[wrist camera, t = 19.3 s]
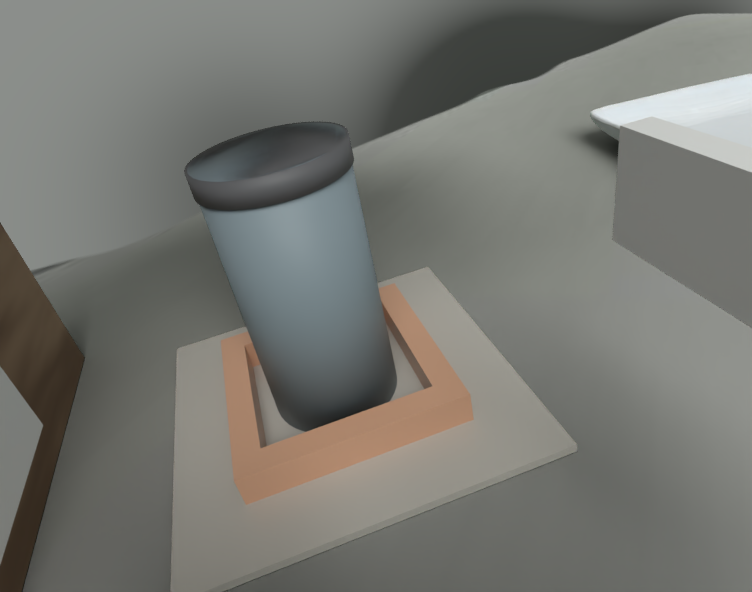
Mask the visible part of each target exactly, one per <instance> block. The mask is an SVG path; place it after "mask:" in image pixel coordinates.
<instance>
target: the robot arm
mask: <svg viewBox="0 0 752 592" xmlns="http://www.w3.org/2000/svg"><path fill="white" fill-rule="evenodd" d="M612 240H613V241H615V242H616V243H618V244H620V245H621V246H623V247H624V248H626V249H628V250H629V251H631V252H632V253H634V254H636V255H637V256H639V257H640V258H642V259H643V260H645V261H647V262H648V263H650V264H651V265H653V266H655V267H656V268H658V269H659V270H661V271H662V272H664V273H666V274H667V275H669V276H670V277H672V278H674V279H675V280H677V281H678V282H680V283H681V284H683V285H685V286H686V287H688V288H689V289H691V290H693V291H694V292H696V293H697V294H699V295H700V296H702V297H704V298H705V299H707V300H708V301H710V302H712V303H713V304H715V305H716V306H718V307H719V308H721V309H723V310H724V311H726V312H727V313H729V314H731V315H732V316H734V317H735V318H737V319H739V320H740V321H742V322H743V323H745V324H746V325H748V326H750V327H751V328H752V148H751V147H748V146H745V145H741V144H738V143H735V142H732V141H729V140H726V139H722V138H719V137H716V136H713V135H710V134H706V133H703V132H700V131H697V130H694V129H691V128H687V127H684V126H681V125H678V124H675V123H671V122H668V121H665V120H662V119H659V118H655V117H652V116H651V117H647V118H644V119H640V120H637V121H634V122H630V123H627V124H623V125H620V134H619V149H618V163H617V178H616V192H615V207H614V221H613V236H612ZM42 428H43V424H42V423H41V421H40V420H39V419H38V417H37V416H36V414H35V413H34V412H33V410H32V409H31V408H30V406H29V405H28V404H27V402H26V401H25V399H24V398H23V397H22V395H21V394H20V393H19V391H18V390H17V388H16V387H15V386H14V384H13V383H12V382H11V380H10V379H9V378H8V376H7V375H6V373H5V372H4V371H3V369H2V368H1V367H0V564H1V561H2V558H3V554H4V551H5V548H6V545H7V541H8V538H9V535H10V532H11V528H12V525H13V522H14V519H15V515H16V512H17V509H18V506H19V502H20V499H21V496H22V493H23V489H24V486H25V483H26V480H27V476H28V473H29V470H30V467H31V463H32V460H33V457H34V454H35V450H36V447H37V444H38V441H39V437H40V434H41V431H42Z"/></svg>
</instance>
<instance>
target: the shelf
mask: <svg viewBox="0 0 752 592" xmlns="http://www.w3.org/2000/svg"><path fill="white" fill-rule="evenodd" d="M83 362H84V356H83V355H82V353H81V351H80V350H79V348H78V347H77V345H76V343H75V342H74V340H73V339H72V337H71V335H70V334H69V332H68V331H67V329H66V327H65V326H64V324H63V323H62V321H61V319H60V318H59V316H58V315H57V313H56V311H55V310H54V308H53V307H52V305H51V303H50V302H49V300H48V299H47V297H46V295H45V294H44V292H43V291H42V289H41V287H40V286H39V284H38V282H37V281H36V279H35V278H34V276H33V274H32V273H31V271H30V270H29V268H28V266H27V265H26V263H25V262H24V260H23V258H22V257H21V255H20V254H19V252H18V250H17V249H16V247H15V246H14V244H13V242H12V241H11V239H10V238H9V236H8V234H7V233H6V231H5V230H4V228H3V226H2V225H1V223H0V367H1V368H2V369H3V371H4V372H5V373H6V375H7V376H8V378H9V379H10V380H11V382H12V383H13V384H14V386H15V387H16V388H17V390H18V391H19V393H20V394H21V395H22V397H23V398H24V399H25V401H26V402H27V404H28V405H29V406H30V408H31V409H32V410H33V412H34V413H35V414H36V416H37V417H38V419H39V420H40V421H41V423H42V424H43V428H42V431H41V434H40V437H39V441H38V444H37V447H36V450H35V454H34V457H33V460H32V463H31V467H30V470H29V473H28V476H27V480H26V483H25V486H24V489H23V493H22V496H21V499H20V502H19V506H18V509H17V512H16V515H15V519H14V522H13V525H12V528H11V532H10V535H9V538H8V541H7V545H6V548H5V551H4V554H3V558H2V561H1V564H0V592H22V589H23V585H24V581H25V577H26V574H27V570H28V566H29V563H30V559H31V555H32V551H33V548H34V544H35V540H36V537H37V533H38V529H39V525H40V522H41V518H42V514H43V511H44V507H45V503H46V499H47V496H48V492H49V488H50V484H51V481H52V477H53V473H54V470H55V466H56V462H57V458H58V455H59V451H60V447H61V444H62V440H63V436H64V432H65V429H66V425H67V421H68V418H69V414H70V410H71V406H72V403H73V399H74V395H75V392H76V388H77V384H78V380H79V377H80V373H81V369H82V366H83Z"/></svg>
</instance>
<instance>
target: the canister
mask: <svg viewBox="0 0 752 592" xmlns="http://www.w3.org/2000/svg"><path fill="white" fill-rule="evenodd" d="M353 162H354V157H353V152H352V147H351V143H350V138H349V133H348V130H347V129H346V128H345V127H344V126H342V125H340V124H336V123H331V122H301V123H292V124H285V125H280V126H275V127H270V128H265V129H262V130H258V131H254V132H251V133H247V134H244V135H241V136H238V137H235V138H232V139H229V140H227V141H224V142H222V143H219V144H217V145H215V146H213V147H211V148H209V149H207V150H205V151H204V152H202V153H200V154H199V155H197V156H196V157H194V158H193V159H192V160H191V161H190V162H189V163H188V164H187V165H186V167H185V170H184V172H185V176H186V178H187V181H188V184H189V185H190V189H191V191H192V194H193V197H194V199H195V201H196V202H197V203H198V204H199V205H200V207H201V210H202V212H203V215H204V218H205V220H206V223H207V225H208V228H209V231H210V233H211V236H212V239H213V241H214V244H215V246H216V249H217V252H218V254H219V257H220V259H221V262H222V265H223V267H224V270H225V273H226V275H227V278H228V280H229V283H230V286H231V288H232V291H233V293H234V296H235V299H236V301H237V304H238V307H239V309H240V312H241V314H242V317H243V320H244V322H245V325H246V328H247V330H248V333H249V335H250V338H251V341H252V343H253V346H254V348H255V351H256V354H257V356H258V359H259V362H260V364H261V367H262V369H263V372H264V375H265V377H266V380H267V383H268V385H269V388H270V390H271V393H272V396H273V398H274V401H275V403H276V406H277V409H278V411H279V413H280V415H281V417H282V418H283V419H284V420H285V421H286V422H287V423H288V424H289V425H291V426H292V427H294V428H296V429H299V430H301V431H305V432H307V431H310V430H313V429H315V428H318V427H321V426H324V425H326V424H329V423H332V422H335V421H338V420H340V419H343V418H346V417H349V416H351V415H354V414H357V413H360V412H362V411H365V410H368V409H371V408H374V407H376V406H379V405H382V404H385V403H387V402H390V400H391V398H392V397H393V395H394V393H395V390H396V386H397V374H396V369H395V364H394V359H393V355H392V350H391V345H390V340H389V336H388V331H387V326H386V321H385V317H384V312H383V307H382V302H381V298H380V293H379V288H378V284H377V279H376V274H375V269H374V265H373V260H372V255H371V250H370V246H369V241H368V236H367V231H366V227H365V222H364V217H363V212H362V208H361V203H360V198H359V193H358V189H357V184H356V179H355V174H354V170H353Z"/></svg>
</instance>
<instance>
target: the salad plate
mask: <svg viewBox="0 0 752 592" xmlns="http://www.w3.org/2000/svg"><path fill="white" fill-rule="evenodd" d="M651 116H652V117H655V118H659V119H662V120H665V121H668V122H671V123H675V124H678V125H681V126H684V127H687V128H691V129H694V130H697V131H700V132H703V133H706V134H710V135H713V136H716V137H719V138H722V139H726V140H729V141H732V142H735V143H738V144H741V145H745V146H748V147H751V148H752V73H750V74H746V75H741V76H736V77H732V78H727V79H722V80H718V81H713V82H708V83H704V84H699V85H695V86H691V87H686V88H682V89H677V90H673V91H669V92H664V93H660V94H656V95H652V96H648V97H643V98H639V99H635V100H631V101H626V102H622V103H618V104H613V105H609V106H605V107H601V108H598V109H595V110H593V111H591V112H590V117H591V119H592V120H593V122H594V123H595V124H596V125H597V126H598V127H599V128H600V129H601V130H603V131H604V132H605V133H607V134H608V135H610V136H612V137H613V138H615V139H616V140H618V141H619V134H620V125H623V124H627V123H630V122H634V121H637V120H640V119H644V118H647V117H651Z"/></svg>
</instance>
